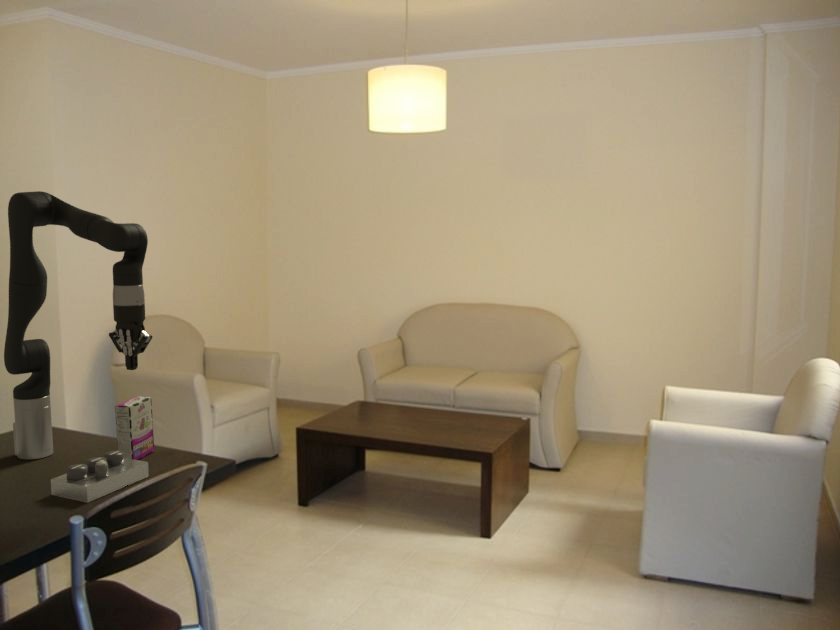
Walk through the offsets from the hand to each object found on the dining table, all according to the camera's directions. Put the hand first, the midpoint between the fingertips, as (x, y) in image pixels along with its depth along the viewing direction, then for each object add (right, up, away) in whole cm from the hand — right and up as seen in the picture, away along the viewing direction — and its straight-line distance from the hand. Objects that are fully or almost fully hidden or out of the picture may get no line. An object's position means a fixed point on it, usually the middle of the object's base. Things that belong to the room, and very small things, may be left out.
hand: (131, 369), depth 193 cm
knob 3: (-6, -28, +4) cm, 29 cm away
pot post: (-5, -26, -6) cm, 27 cm away
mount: (-7, -29, -2) cm, 30 cm away
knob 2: (-8, -28, -1) cm, 30 cm away
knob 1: (-11, -29, -7) cm, 32 cm away
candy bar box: (-7, -27, +21) cm, 35 cm away
